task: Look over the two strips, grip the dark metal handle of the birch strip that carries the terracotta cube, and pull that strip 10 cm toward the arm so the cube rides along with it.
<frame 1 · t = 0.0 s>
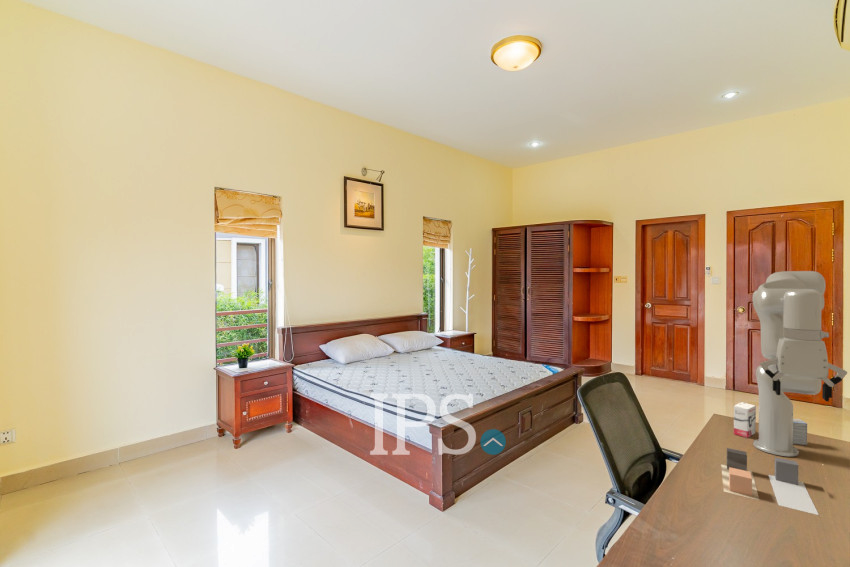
hand: (801, 396, 108), 31 cm above the table, fingers open, 9 cm apart
medicine box: (791, 442, 151), on the table
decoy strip: (791, 497, 114), on the table
cube: (740, 489, 116), point 1 cm above the table, touching cube strip
ink box: (744, 434, 159), on the table
cube strip: (738, 473, 121), point 4 cm above the table, slide at 0.0 cm, touching cube
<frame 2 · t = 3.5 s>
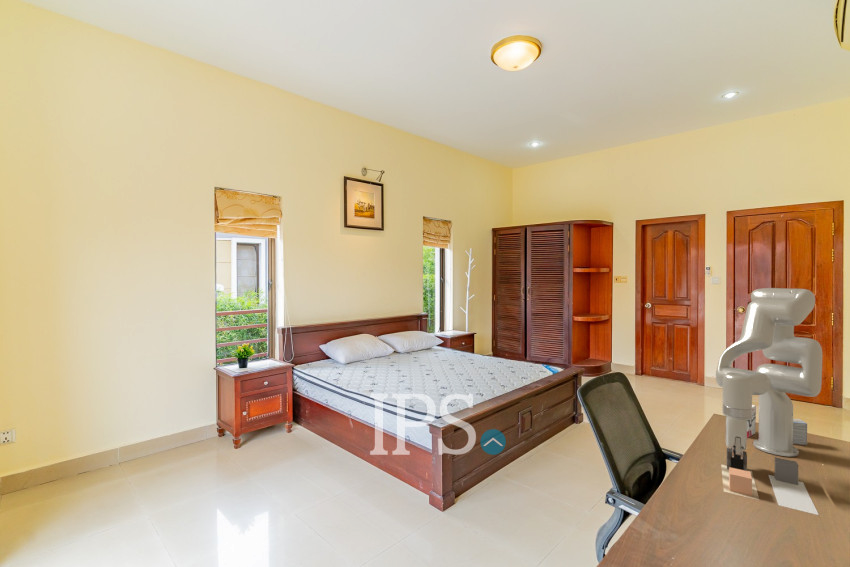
hand: (736, 466, 128), 2 cm above the table, fingers closed on cube strip, 3 cm apart
cube strip: (738, 473, 121), point 4 cm above the table, slide at 0.0 cm, touching cube, gripper
everything else where it was.
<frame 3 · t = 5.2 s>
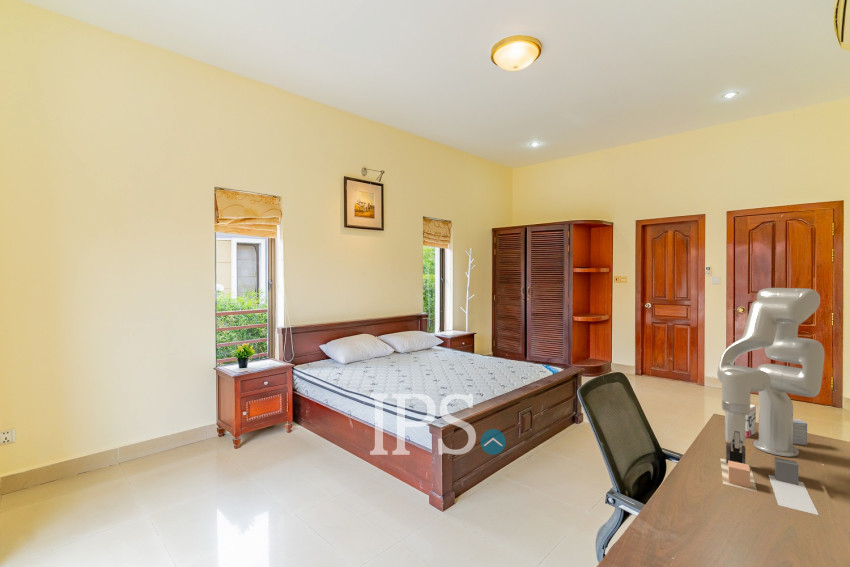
hand: (735, 460, 132), 2 cm above the table, fingers closed on cube strip, 3 cm apart
cube: (738, 481, 120), point 1 cm above the table, touching cube strip
cube strip: (737, 466, 125), point 4 cm above the table, slide at 5.3 cm, touching cube, gripper
everything else where it was.
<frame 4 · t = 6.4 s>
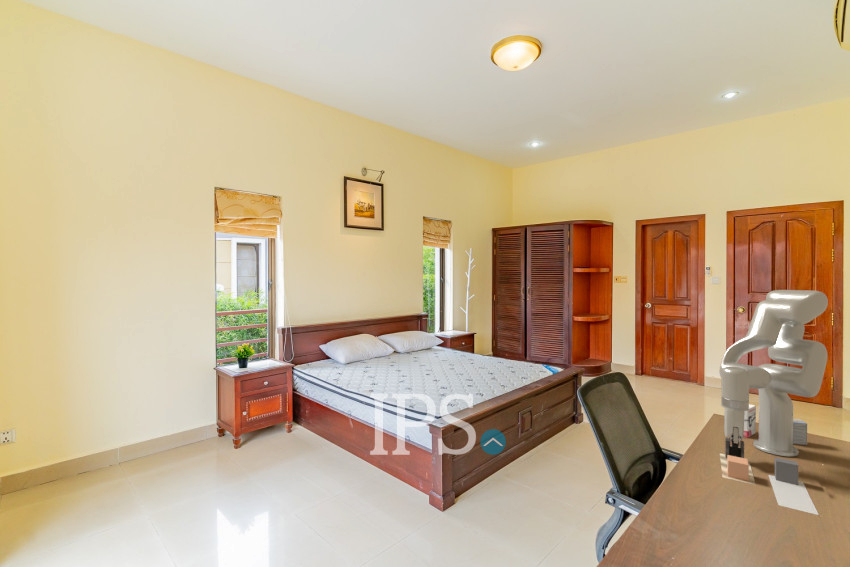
hand: (734, 455, 136), 2 cm above the table, fingers closed on cube strip, 3 cm apart
cube: (737, 475, 124), point 1 cm above the table, touching cube strip
cube strip: (736, 460, 129), point 4 cm above the table, slide at 10.0 cm, touching cube, gripper
everything else where it was.
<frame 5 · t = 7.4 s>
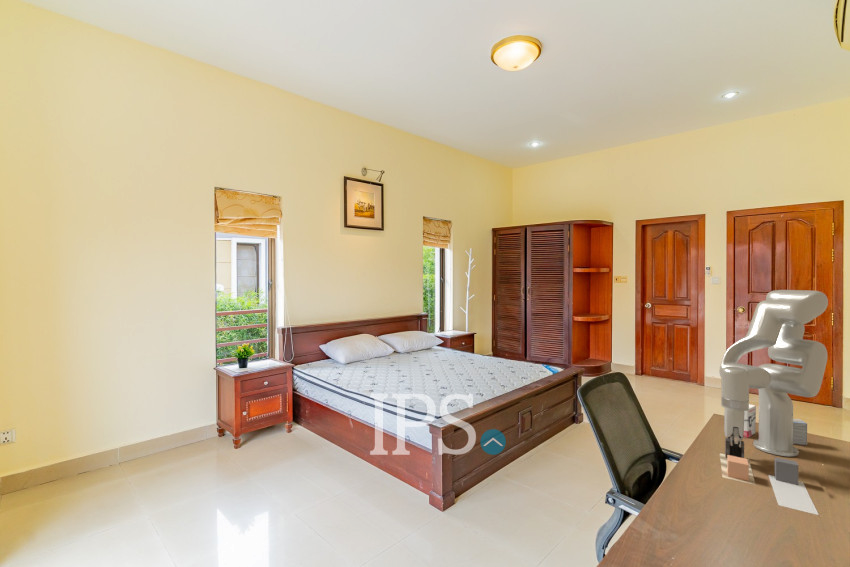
hand: (734, 452, 136), 3 cm above the table, fingers open, 9 cm apart
cube strip: (736, 460, 129), point 4 cm above the table, slide at 10.0 cm, touching cube
everything else where it was.
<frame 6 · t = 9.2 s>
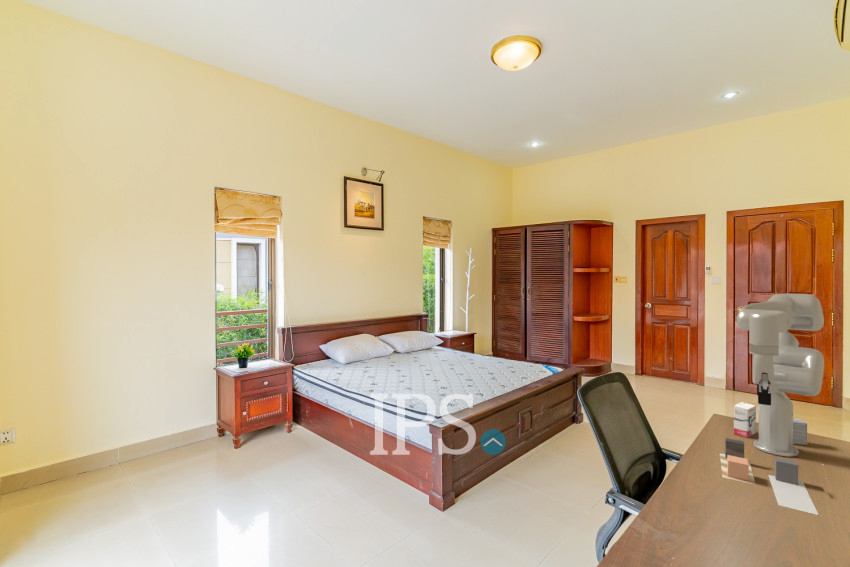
hand: (763, 400, 131), 23 cm above the table, fingers open, 9 cm apart
nothing on the table moved.
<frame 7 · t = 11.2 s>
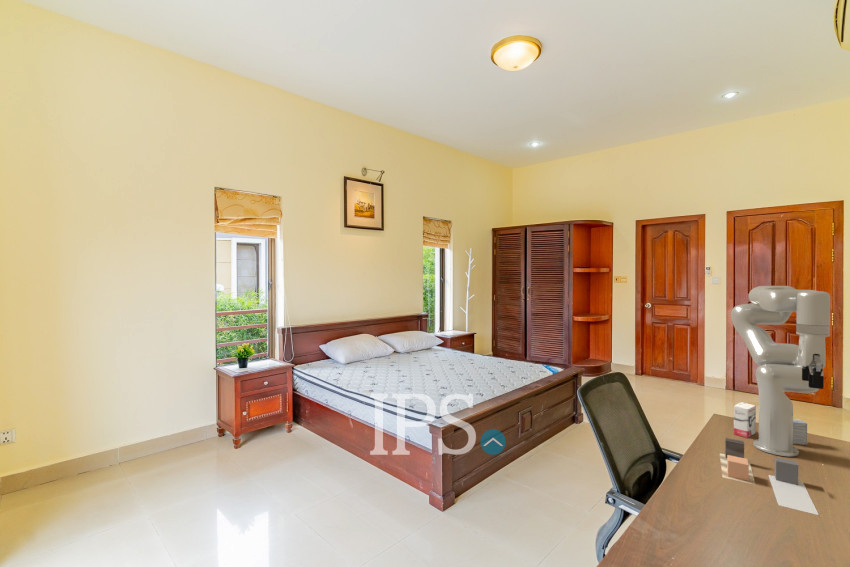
hand: (812, 384, 123), 30 cm above the table, fingers open, 9 cm apart
nothing on the table moved.
at the end: cube strip slide at 10.0 cm; cube inside the target area (0.0 cm from its centre), point 1.3 cm above the table; cube tilted 0° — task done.
